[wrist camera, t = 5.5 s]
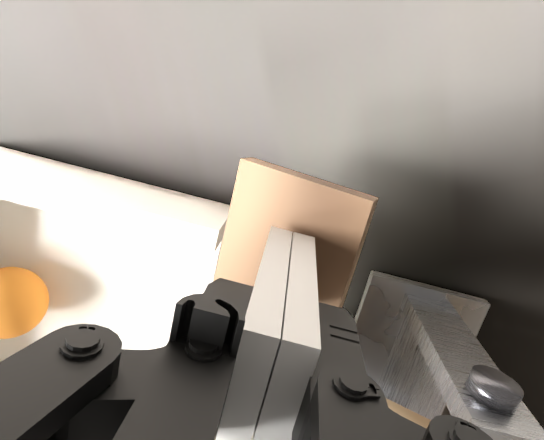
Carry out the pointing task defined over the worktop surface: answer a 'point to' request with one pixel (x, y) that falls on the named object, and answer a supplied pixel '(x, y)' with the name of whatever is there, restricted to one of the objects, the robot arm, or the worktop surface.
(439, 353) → the stand
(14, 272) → the ball
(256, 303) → the robot arm
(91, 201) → the dish
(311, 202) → the lever
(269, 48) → the worktop surface
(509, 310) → the worktop surface
